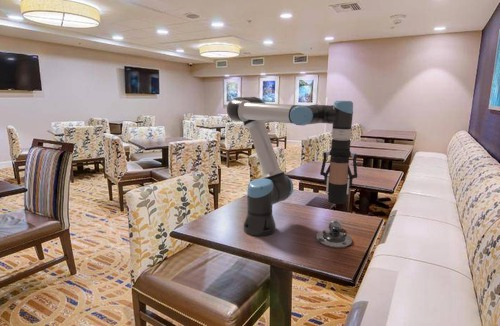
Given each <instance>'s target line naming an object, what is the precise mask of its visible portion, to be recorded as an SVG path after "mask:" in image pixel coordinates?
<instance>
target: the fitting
mask: <svg viewBox="0 0 500 326" xmlns="http://www.w3.org/2000/svg"><path fill="white" fill-rule="evenodd" d="M328 229H329V230H322V231H319V232H318V233H317V234H316V240H317V242H318V243H320V244H321V245H322V246H326V247H328V248H334V249H344V248H348V247H349V246H351V245H352V241H353V239H352V237H351V236H350V235H348V233H346V232H341V230H342V224H341V221H340V220H339V219H338V218H333V219H332V220H331V221H330V223H329V224H328Z"/></svg>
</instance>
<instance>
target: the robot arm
mask: <svg viewBox="0 0 500 326" xmlns="http://www.w3.org/2000/svg"><path fill="white" fill-rule="evenodd" d="M226 114H227V115H228V117H229V118H230V119H231V120H232V121H234V122H242V124H243V126H244V128H246V129H248V130H249V131H248V132H249V134H250V138H251V140H252V144H253V147H254V149H255V152H256V156H257V159H258V162H259V164H260V168H261V171H262V174H263V175H262V177H261V178H256V179H253V180H251V181H249V182H248V184H247V190H246V193H247V195H246V197H247V201H246V203H247V204H246V205H247V208H246V209H247V213H246V216H245V219H244V222H243V232H244V233H246V234H247V235H250V236H257V237H266V236H270V235H273V234H274V233H276V228H277V227H276V222H275V219H274V215H273V205H275V204H277V203H281V202H283V201H286V200H287V199H288V198H290V197H291V196H292V194H293V191H294V183H293V180H292V179H291V178H290V177H289V176H288V175H286V174H285V173H286V172H285V171H284V170H283V169H281V168H280V165H279V162H278V159H277V156H276V153H275V150H274V148H273V145H272V142H271V141H272V140H271V139H270V138H271V137H270V135H269V132H268V130H267V127H266V122H273V123H282V124H283V123H284V124H294V125H296V126H307V125H315V124H331V125H332V130H331V131H332V132H331V138H332V139H331V145H330V151H323V153H322V156H323V160H322V163H321V164H322V165H321V168H320V173H319V175H320V176H323V179H324V180H323V184H324V185H326V186H325V187H326V188H325V189H326V190H325V192H326V193H328V187H329V172H330V164H329V165H328V167H327V169H326V164H327V163H326V162H327V158H328V157H329V156H330V157H331V156H333V157H349V158H350V157H351V159H352V164H353V165H352V168H353V174H352V170H351V167H350V164H349V165H348V181H347V191H346V195H349V191H350V187H352V186H353V179H356V178H358V168H357V159H358V154H357V153H354V152H353V153H352V151H351V143H352V142H351V139H352V125H353V116H354V115H353V114H354V102H353V101H352V100H335V101H334V102H333V105H329V104H327V105H325V104H309V105H304V104H303V105H302V104H285V103H284V104H282V103H267V102H265V101H264V99H262V98H260V97H255V96H250V97H249V96H247V97H246V96H245V97H244V96H243V97H242V96H241V97H240V96H237V97H234V98H232V99H231V100H229V102H228V103H227V106H226ZM325 169H326V172H325Z"/></svg>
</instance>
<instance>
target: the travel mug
mask: <svg viewBox="0 0 500 326" xmlns="http://www.w3.org/2000/svg"><path fill="white" fill-rule="evenodd" d="M329 165H330V172H329V174H328V176H329V187H328V192H327V195H328V196H327V201H328V202H329V203H330V204H333V205H344V204H345V203H346V199H347V181H348V178H349V175H348V165H349V166H350V156H349V157H333V156H331V155H330V160H329Z"/></svg>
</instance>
